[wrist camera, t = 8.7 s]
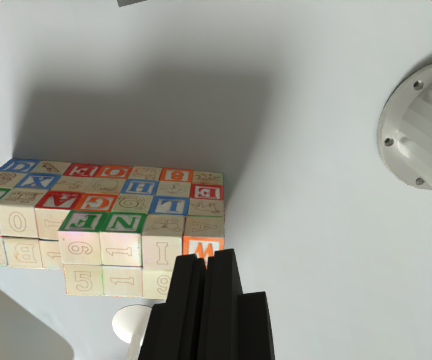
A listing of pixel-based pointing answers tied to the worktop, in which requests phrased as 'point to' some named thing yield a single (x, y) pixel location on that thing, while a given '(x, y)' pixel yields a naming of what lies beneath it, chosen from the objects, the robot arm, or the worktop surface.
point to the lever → (127, 2)
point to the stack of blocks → (108, 223)
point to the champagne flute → (132, 327)
